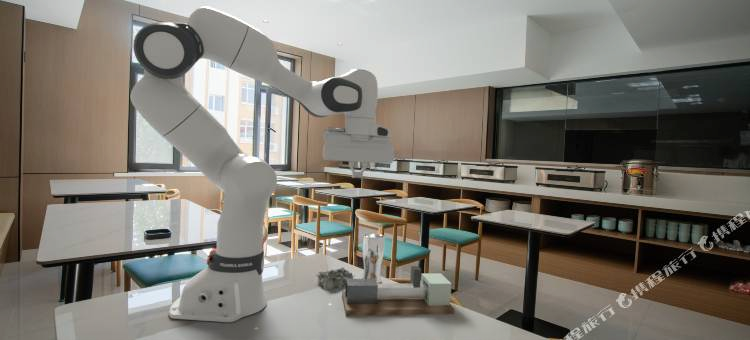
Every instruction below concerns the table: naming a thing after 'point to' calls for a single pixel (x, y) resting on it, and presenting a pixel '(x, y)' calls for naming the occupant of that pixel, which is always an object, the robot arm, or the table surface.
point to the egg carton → (334, 278)
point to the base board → (396, 307)
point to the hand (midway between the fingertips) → (357, 178)
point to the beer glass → (373, 256)
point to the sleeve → (361, 291)
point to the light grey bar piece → (405, 287)
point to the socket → (437, 289)
